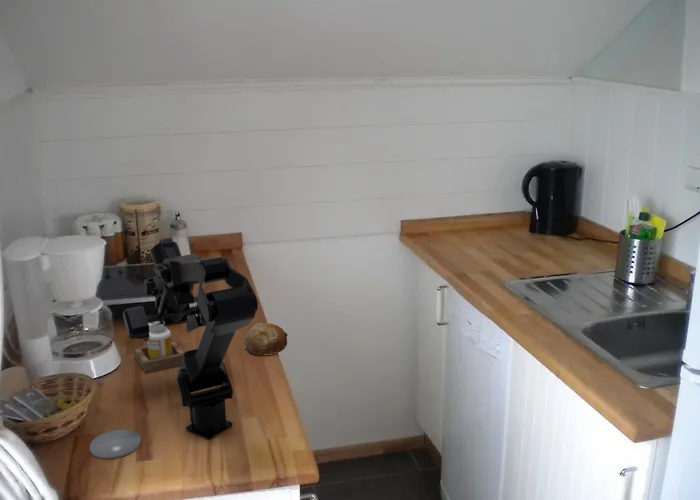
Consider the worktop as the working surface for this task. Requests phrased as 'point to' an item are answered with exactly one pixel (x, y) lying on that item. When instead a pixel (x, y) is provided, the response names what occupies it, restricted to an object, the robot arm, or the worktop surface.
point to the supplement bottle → (159, 342)
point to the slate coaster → (115, 444)
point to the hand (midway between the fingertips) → (166, 335)
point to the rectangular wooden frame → (159, 359)
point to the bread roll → (266, 339)
